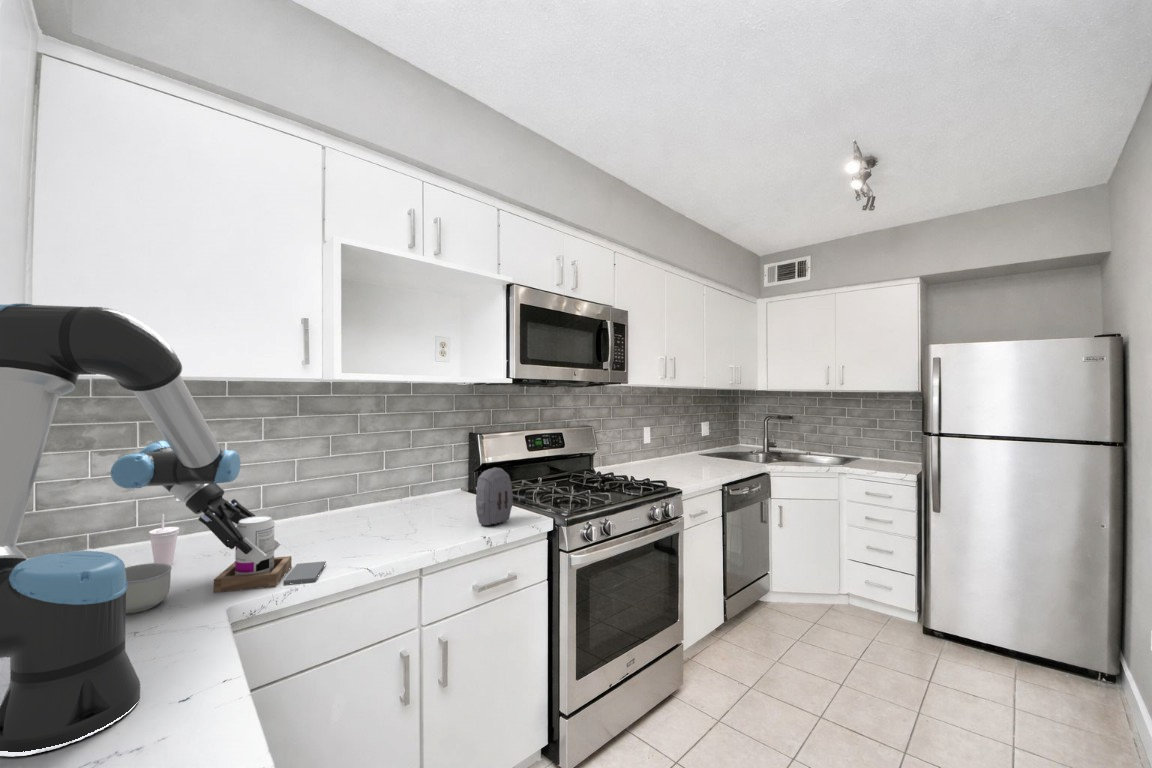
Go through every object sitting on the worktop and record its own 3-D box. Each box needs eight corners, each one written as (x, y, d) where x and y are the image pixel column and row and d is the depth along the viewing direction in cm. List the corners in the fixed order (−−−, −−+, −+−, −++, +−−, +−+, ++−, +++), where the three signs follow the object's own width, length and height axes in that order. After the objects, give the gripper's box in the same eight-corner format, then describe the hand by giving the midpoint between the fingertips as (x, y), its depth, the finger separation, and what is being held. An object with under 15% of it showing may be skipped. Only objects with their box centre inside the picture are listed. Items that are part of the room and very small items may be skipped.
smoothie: (142, 570, 128) (142, 517, 128) (158, 562, 135) (159, 511, 135) (169, 569, 129) (169, 516, 129) (184, 560, 136) (185, 510, 136)
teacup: (165, 592, 115) (165, 558, 115) (176, 606, 108) (177, 569, 108) (81, 614, 104) (81, 576, 104) (88, 630, 97) (88, 589, 97)
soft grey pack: (503, 517, 181) (503, 463, 182) (519, 521, 176) (519, 466, 176) (471, 526, 170) (471, 469, 170) (487, 531, 164) (487, 471, 165)
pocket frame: (275, 586, 118) (275, 574, 118) (213, 592, 115) (213, 579, 115) (291, 567, 131) (291, 556, 131) (235, 572, 127) (235, 560, 127)
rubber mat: (315, 581, 121) (315, 577, 121) (283, 584, 119) (283, 580, 119) (325, 564, 133) (325, 561, 133) (297, 567, 131) (297, 563, 131)
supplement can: (234, 588, 117) (234, 525, 117) (236, 576, 124) (236, 518, 124) (274, 581, 122) (274, 520, 122) (273, 570, 129) (274, 513, 129)
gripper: (210, 494, 130) (275, 551, 133) (158, 514, 110) (237, 581, 113) (232, 474, 132) (296, 530, 134) (185, 490, 111) (262, 556, 114)
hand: (269, 553), depth 124 cm, fingers closed on supplement can, 8 cm apart
